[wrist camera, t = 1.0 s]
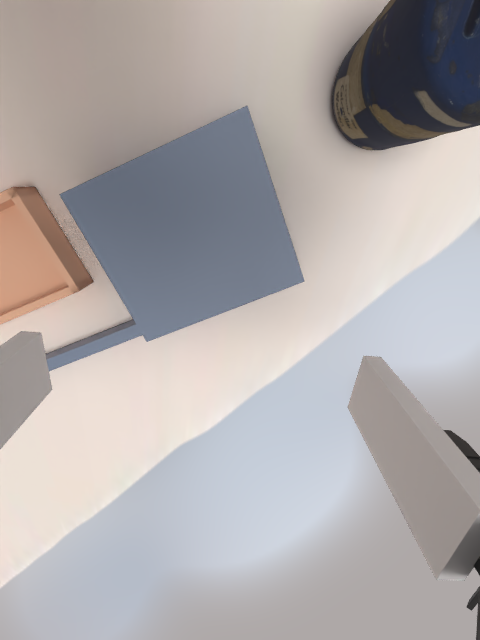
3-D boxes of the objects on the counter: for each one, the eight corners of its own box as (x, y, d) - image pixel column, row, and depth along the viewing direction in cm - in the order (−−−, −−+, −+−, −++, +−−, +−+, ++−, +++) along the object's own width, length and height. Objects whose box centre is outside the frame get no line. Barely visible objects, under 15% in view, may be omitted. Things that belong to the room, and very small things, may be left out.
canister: (448, 66, 28) (750, -105, 12) (389, 170, 32) (560, 148, 15) (362, 10, 27) (575, -283, 10) (309, 125, 30) (404, 46, 13)
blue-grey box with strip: (-77, 269, 35) (-127, 282, 30) (244, 119, 30) (247, 105, 25) (14, 378, 41) (-15, 404, 36) (294, 268, 36) (304, 281, 31)
